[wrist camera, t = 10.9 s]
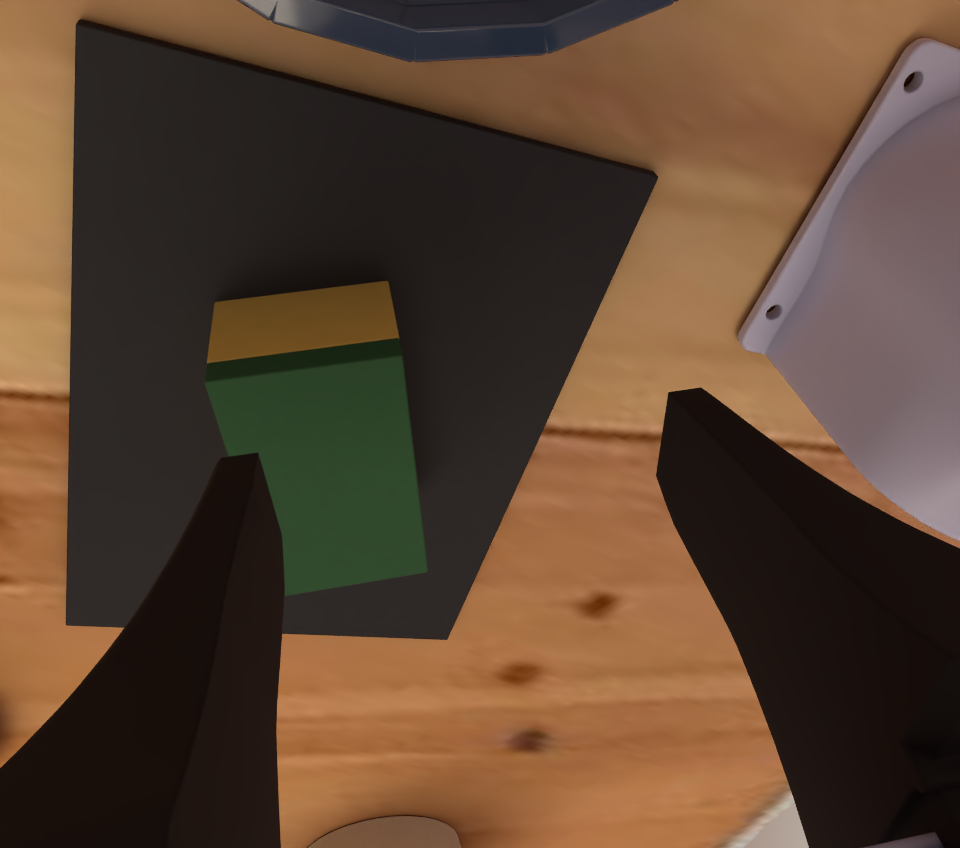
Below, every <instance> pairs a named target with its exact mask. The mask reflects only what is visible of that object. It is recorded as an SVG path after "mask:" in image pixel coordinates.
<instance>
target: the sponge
mask: <svg viewBox="0 0 960 848" xmlns="http://www.w3.org/2000/svg"><path fill="white" fill-rule="evenodd" d="M204 383H205V386H206V389H207V392H208V396H209V399H210V402H211V405H212V408H213V411H214V414H215V417H216V420H217V423H218V427H219V430H220V433H221V436H222V439H223V442H224V445H225V448H226V451H227V454H228V457H230V456H237V455H243V454H250V453H257V452H258V453H259V457H260V460H261V464H262V467H263V471H264V474H265V478H266V481H267V485H268V488H269V491H270V495H271V498H272V502H273V505H274V509H275V512H276V516H277V519H278V523H279V526H280V529H281V533H282V542H283V559H284V579H285V596H289V595H295V594H301V593H306V592H312V591H318V590H324V589H330V588H336V587H342V586H348V585H354V584H360V583H366V582H372V581H378V580H384V579H390V578H396V577H402V576H408V575H414V574H420V573H426V572H428V564H427V556H426V547H425V539H424V530H423V522H422V514H421V505H420V497H419V488H418V480H417V472H416V463H415V455H414V446H413V438H412V430H411V421H410V413H409V404H408V396H407V388H406V379H405V371H404V362H403V355H402V350H401V344H400V340H399V334H398V329H397V324H396V319H395V313H394V308H393V303H392V298H391V293H390V288H389V282H388V281H381V282H372V283H364V284H356V285H348V286H340V287H332V288H324V289H316V290H308V291H300V292H292V293H284V294H276V295H268V296H259V297H251V298H243V299H235V300H227V301H219V302H215V304H214V311H213V319H212V327H211V335H210V343H209V350H208V358H207V366H206V374H205V382H204Z"/></svg>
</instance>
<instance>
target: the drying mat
mask: <svg viewBox="0 0 960 848" xmlns="http://www.w3.org/2000/svg"><path fill="white" fill-rule="evenodd" d="M657 179H658V176H657V175H656V174H655V173H654V172H653V171H650V170H646V169H643V168H639V167H635V166H631V165H628V164H624V163H620V162H616V161H612V160H609V159H605V158H601V157H597V156H594V155H590V154H586V153H582V152H578V151H575V150H571V149H567V148H563V147H560V146H556V145H552V144H548V143H545V142H541V141H537V140H533V139H529V138H526V137H522V136H518V135H514V134H511V133H507V132H503V131H499V130H496V129H492V128H488V127H484V126H480V125H477V124H473V123H469V122H465V121H462V120H458V119H454V118H450V117H447V116H443V115H439V114H435V113H431V112H428V111H424V110H420V109H416V108H413V107H409V106H405V105H401V104H397V103H394V102H390V101H386V100H382V99H379V98H375V97H371V96H367V95H364V94H360V93H356V92H352V91H348V90H345V89H341V88H337V87H333V86H330V85H326V84H322V83H318V82H315V81H311V80H307V79H303V78H299V77H296V76H292V75H288V74H284V73H281V72H277V71H273V70H269V69H266V68H262V67H258V66H254V65H250V64H247V63H243V62H239V61H235V60H232V59H228V58H224V57H220V56H216V55H213V54H209V53H205V52H201V51H198V50H194V49H190V48H186V47H183V46H179V45H175V44H171V43H167V42H164V41H160V40H156V39H152V38H149V37H145V36H141V35H137V34H134V33H130V32H126V31H122V30H118V29H115V28H111V27H107V26H103V25H100V24H96V23H92V22H88V21H85V20H79V21H78V22H77V24H76V47H75V107H74V167H73V228H72V288H71V348H70V409H69V469H68V529H67V589H66V625H70V626H96V627H123V628H125V626H126V625H127V624H128V622H129V621H130V619H131V618H132V616H133V615H134V613H135V612H136V611H137V609H138V608H139V606H140V605H141V603H142V602H143V600H144V599H145V597H146V595H147V594H148V592H149V591H150V589H151V587H152V586H153V584H154V582H155V581H156V579H157V578H158V576H159V574H160V573H161V571H162V570H163V568H164V566H165V565H166V563H167V561H168V560H169V558H170V556H171V554H172V553H173V551H174V549H175V547H176V545H177V543H178V542H179V540H180V538H181V536H182V534H183V532H184V530H185V529H186V527H187V525H188V523H189V521H190V519H191V517H192V515H193V513H194V511H195V509H196V507H197V505H198V503H199V501H200V499H201V497H202V495H203V493H204V490H205V488H206V486H207V484H208V481H209V479H210V477H211V475H212V472H213V470H214V468H215V465H216V463H217V462H218V461H219V460H220V459H221V458H223V457H228V454H227V451H226V448H225V445H224V442H223V439H222V436H221V433H220V430H219V427H218V423H217V420H216V417H215V414H214V411H213V408H212V405H211V402H210V399H209V396H208V392H207V389H206V386H205V383H204V382H205V374H206V366H207V358H208V350H209V343H210V335H211V327H212V319H213V311H214V304H215V302H219V301H227V300H235V299H243V298H251V297H259V296H268V295H276V294H284V293H292V292H300V291H308V290H316V289H324V288H332V287H340V286H348V285H356V284H364V283H372V282H381V281H388V282H389V288H390V293H391V298H392V303H393V308H394V313H395V319H396V324H397V329H398V334H399V340H400V344H401V350H402V355H403V362H404V371H405V379H406V388H407V396H408V404H409V413H410V421H411V430H412V438H413V446H414V455H415V463H416V472H417V480H418V488H419V497H420V505H421V514H422V522H423V530H424V539H425V547H426V556H427V564H428V572H426V573H420V574H414V575H408V576H402V577H396V578H390V579H384V580H378V581H372V582H366V583H360V584H354V585H348V586H342V587H336V588H330V589H324V590H318V591H312V592H306V593H301V594H295V595H289V596H284V611H283V627H282V634H307V635H334V636H360V637H386V638H413V639H439V640H447V639H448V637H449V634H450V632H451V630H452V628H453V626H454V623H455V621H456V619H457V617H458V615H459V613H460V610H461V608H462V606H463V604H464V602H465V599H466V597H467V595H468V593H469V591H470V588H471V586H472V584H473V582H474V580H475V577H476V575H477V573H478V571H479V569H480V567H481V564H482V562H483V560H484V558H485V556H486V553H487V551H488V549H489V547H490V545H491V542H492V540H493V538H494V536H495V534H496V532H497V529H498V527H499V525H500V523H501V521H502V518H503V516H504V514H505V512H506V510H507V507H508V505H509V503H510V501H511V499H512V496H513V494H514V492H515V490H516V488H517V486H518V483H519V481H520V479H521V477H522V475H523V472H524V470H525V468H526V466H527V464H528V461H529V459H530V457H531V455H532V453H533V451H534V448H535V446H536V444H537V442H538V440H539V437H540V435H541V433H542V431H543V429H544V426H545V424H546V422H547V420H548V418H549V416H550V413H551V411H552V409H553V407H554V405H555V402H556V400H557V398H558V396H559V394H560V391H561V389H562V387H563V385H564V383H565V380H566V378H567V376H568V374H569V372H570V370H571V367H572V365H573V363H574V361H575V359H576V356H577V354H578V352H579V350H580V348H581V345H582V343H583V341H584V339H585V337H586V335H587V332H588V330H589V328H590V326H591V324H592V321H593V319H594V317H595V315H596V313H597V310H598V308H599V306H600V304H601V302H602V299H603V297H604V295H605V293H606V291H607V289H608V286H609V284H610V282H611V280H612V278H613V275H614V273H615V271H616V269H617V267H618V264H619V262H620V260H621V258H622V256H623V254H624V251H625V249H626V247H627V245H628V243H629V240H630V238H631V236H632V234H633V232H634V229H635V227H636V225H637V223H638V221H639V218H640V216H641V214H642V212H643V210H644V208H645V205H646V203H647V201H648V199H649V197H650V194H651V192H652V190H653V188H654V186H655V183H656V181H657Z"/></svg>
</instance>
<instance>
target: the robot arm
mask: <svg viewBox="0 0 960 848" xmlns="http://www.w3.org/2000/svg"><path fill="white" fill-rule="evenodd" d="M913 72H914V77H913V80H912V81H911V82H910V83H909V85H907V86H905V87H904V82H905V80H906V78H907V77H908V76H909V75H910V74H912V73H913ZM774 305H776V307H775V308H774V309H773V310H772V311H770V312H768V313H766V312H767V310H768V309H769V308H770V307H772V306H774ZM738 341H739V342H740V344H741V345H742V346H743V348H744V349H745V350H747V351H750V352H755V353H760V354H766V356H767V357H768V358H769V360H770V361H771V362H772V363H773V365H774V366H775V367H776V368H777V370H778V371H779V372H780V374H781V375H782V376H783V377H784V379H785V380H786V381H787V382H788V384H789V385H790V386H791V387H792V389H793V390H794V391H795V392H796V394H797V395H798V396H799V397H800V399H801V400H802V401H803V402H804V404H805V405H806V406H807V407H808V409H809V410H810V411H811V412H812V414H813V415H814V416H815V418H816V419H817V420H818V421H819V423H820V424H821V425H822V426H823V428H824V429H825V430H826V431H827V433H828V434H829V435H830V436H831V438H832V439H833V440H834V441H835V443H836V444H837V445H838V446H839V448H840V449H841V450H842V451H843V453H844V454H845V455H846V457H847V458H848V459H849V460H850V462H851V463H852V464H853V465H854V467H855V468H856V469H857V470H858V471H859V472H860V473H861V474H862V475H863V476H864V478H865V479H867V480H868V481H869V482H870V483H871V484H872V485H873V486H874V487H875V488H876V489H877V490H878V491H880V492H881V493H882V494H883V495H884V496H886V497H887V498H888V499H889V500H891V501H892V502H893V503H895V504H896V505H897V506H899V507H900V508H901V509H903V510H904V511H905V512H907V513H908V514H910V515H911V516H913V517H914V518H916V519H917V520H919V521H920V522H922V523H924V524H925V525H927V526H929V527H931V528H932V529H934V530H936V531H938V532H940V533H942V534H944V535H947V536H949V537H951V538H954V539H956V540H959V541H960V49H957V48H954V47H952V46H949V45H946V44H944V43H941V42H939V41H936V40H933V39H931V38H920V39H917V40H915V41H914V42H912V43H911V44H910V45H908V47H907V48H906V49H905V50H904V52H903V53H902V55H901V56H900V58H899V60H898V62H897V63H896V65H895V67H894V68H893V70H892V72H891V73H890V75H889V77H888V79H887V80H886V82H885V84H884V85H883V87H882V89H881V91H880V92H879V94H878V96H877V97H876V99H875V101H874V103H873V104H872V106H871V108H870V109H869V111H868V113H867V114H866V116H865V118H864V120H863V121H862V123H861V125H860V126H859V128H858V130H857V132H856V133H855V135H854V137H853V138H852V140H851V142H850V143H849V145H848V147H847V149H846V150H845V152H844V154H843V155H842V157H841V159H840V161H839V162H838V164H837V166H836V167H835V169H834V171H833V173H832V174H831V176H830V178H829V179H828V181H827V183H826V184H825V186H824V188H823V190H822V191H821V193H820V195H819V196H818V198H817V200H816V202H815V203H814V205H813V207H812V208H811V210H810V212H809V213H808V215H807V217H806V219H805V220H804V222H803V224H802V225H801V227H800V229H799V231H798V232H797V234H796V236H795V237H794V239H793V241H792V243H791V244H790V246H789V248H788V249H787V251H786V253H785V254H784V256H783V258H782V260H781V261H780V263H779V265H778V266H777V268H776V270H775V272H774V273H773V275H772V277H771V278H770V280H769V282H768V283H767V285H766V287H765V289H764V290H763V292H762V294H761V295H760V297H759V299H758V301H757V302H756V304H755V306H754V307H753V309H752V311H751V312H750V314H749V316H748V318H747V319H746V321H745V323H744V324H743V326H742V328H741V330H740V332H739V334H738ZM656 477H657V479H658V482H659V485H660V488H661V491H662V494H663V497H664V500H665V502H666V505H667V508H668V510H669V513H670V515H671V518H672V521H673V523H674V525H675V527H676V529H677V531H678V533H679V535H680V537H681V539H682V541H683V543H684V545H685V547H686V549H687V551H688V552H689V554H690V556H691V558H692V560H693V562H694V564H695V566H696V568H697V569H698V571H699V573H700V575H701V577H702V579H703V581H704V583H705V584H706V586H707V588H708V590H709V592H710V594H711V596H712V598H713V599H714V601H715V603H716V605H717V607H718V609H719V611H720V613H721V614H722V616H723V618H724V620H725V622H726V624H727V626H728V628H729V630H730V632H731V634H732V636H733V638H734V641H735V643H736V645H737V647H738V650H739V652H740V655H741V657H742V659H743V662H744V664H745V667H746V669H747V672H748V674H749V677H750V679H751V682H752V684H753V687H754V689H755V692H756V694H757V697H758V700H759V702H760V705H761V708H762V710H763V713H764V716H765V718H766V721H767V724H768V726H769V729H770V732H771V735H772V737H773V740H774V743H775V745H776V748H777V751H778V754H779V757H780V760H781V763H782V766H783V769H784V772H785V775H786V777H787V780H788V783H789V786H790V789H791V792H792V795H793V798H794V801H795V804H796V807H797V810H798V813H799V817H800V820H801V823H802V826H803V830H804V833H805V836H806V839H807V842H808V845H809V848H960V548H957V547H955V546H953V545H951V544H949V543H946V542H944V541H942V540H940V539H938V538H936V537H933V536H931V535H929V534H927V533H925V532H922V531H920V530H918V529H916V528H914V527H912V526H910V525H908V524H906V523H904V522H902V521H900V520H898V519H896V518H894V517H892V516H891V515H889V514H887V513H885V512H883V511H881V510H880V509H878V508H876V507H874V506H872V505H870V504H869V503H867V502H865V501H863V500H861V499H860V498H858V497H856V496H855V495H853V494H851V493H849V492H848V491H846V490H844V489H843V488H841V487H840V486H838V485H837V484H835V483H833V482H832V481H830V480H829V479H827V478H826V477H824V476H822V475H821V474H819V473H818V472H816V471H815V470H813V469H812V468H810V467H809V466H807V465H806V464H804V463H803V462H801V461H800V460H798V459H797V458H796V457H794V456H793V455H791V454H790V453H788V452H787V451H786V450H784V449H783V448H781V447H780V446H779V445H777V444H776V443H774V442H773V441H772V440H770V439H769V438H768V437H766V436H765V435H764V434H762V433H761V432H760V431H758V430H757V429H756V428H754V427H753V426H752V425H750V424H749V423H748V422H746V421H745V420H744V419H742V418H741V417H740V416H738V415H737V414H736V413H735V412H733V411H732V410H731V409H729V408H728V407H727V406H725V405H724V404H723V403H721V402H720V401H719V400H717V399H716V398H715V397H713V396H712V395H711V394H709V393H708V392H707V391H705V390H704V389H702V388H695V389H688V390H681V391H674V392H668V399H667V406H666V412H665V419H664V426H663V432H662V439H661V446H660V453H659V459H658V466H657V473H656ZM284 596H285V579H284V559H283V542H282V533H281V529H280V526H279V523H278V519H277V516H276V512H275V509H274V505H273V502H272V498H271V495H270V491H269V488H268V485H267V481H266V478H265V474H264V471H263V467H262V464H261V460H260V457H259V453H258V452H257V453H250V454H243V455H237V456H230V457H223V458H221V459H220V460H219V461H218V462H217V463H216V465H215V468H214V470H213V472H212V475H211V477H210V479H209V481H208V484H207V486H206V488H205V490H204V493H203V495H202V497H201V499H200V501H199V503H198V505H197V507H196V509H195V511H194V513H193V515H192V517H191V519H190V521H189V523H188V525H187V527H186V529H185V530H184V532H183V534H182V536H181V538H180V540H179V542H178V543H177V545H176V547H175V549H174V551H173V553H172V554H171V556H170V558H169V560H168V561H167V563H166V565H165V566H164V568H163V570H162V571H161V573H160V574H159V576H158V578H157V579H156V581H155V582H154V584H153V586H152V587H151V589H150V591H149V592H148V594H147V595H146V597H145V599H144V600H143V602H142V603H141V605H140V606H139V608H138V609H137V611H136V612H135V613H134V615H133V616H132V618H131V619H130V621H129V622H128V624H127V625H126V626H125V628H124V629H123V630H122V632H121V633H120V635H119V636H118V637H117V639H116V640H115V641H114V643H113V644H112V645H111V647H110V648H109V649H108V651H107V652H106V653H105V654H104V656H103V657H102V658H101V659H100V661H99V662H98V663H97V664H96V665H95V667H94V668H93V669H92V670H91V672H90V673H89V674H88V675H87V676H86V678H85V679H84V680H83V681H82V683H81V684H80V685H79V686H78V687H77V688H76V690H75V691H74V692H73V693H72V694H71V695H70V697H69V698H68V699H67V700H66V701H65V702H64V703H63V704H62V706H61V707H60V708H59V709H58V710H57V711H56V712H55V713H54V714H53V715H52V716H51V717H50V718H49V719H48V720H47V721H46V722H45V723H44V724H43V725H42V727H41V728H40V729H39V730H38V731H37V732H36V733H35V734H34V735H33V736H32V737H31V738H30V739H29V740H28V741H27V742H26V743H25V744H24V745H23V746H22V747H21V748H20V749H19V750H18V751H17V752H16V753H15V754H14V755H13V756H12V757H11V758H10V759H9V760H8V761H7V762H6V763H5V764H4V765H3V766H2V767H1V768H0V848H281V843H280V820H279V798H278V771H277V740H276V722H277V698H278V683H279V669H280V655H281V641H282V627H283V611H284Z"/></svg>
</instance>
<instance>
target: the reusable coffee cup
mask: <svg viewBox="0 0 960 848" xmlns="http://www.w3.org/2000/svg"><path fill="white" fill-rule="evenodd" d="M308 848H461V845H460V841H459V838H458V835H457V833H456V832H455V830H454V829H453V828H452V827H450V826H449V825H447V824H446V823H443V822H441V821H438V820H435V819H430V818H426V817H416V816H393V817H384V818H376V819H372V820H367V821H362V822H358V823H355V824H352V825H348V826H345V827H343V828H340V829H338V830H335V831H333V832H331V833H329V834H327V835H325V836H323V837H322V838H320V839H318V840H317V841H315V842H314V843H313V844H312V845H310V846H309V847H308Z"/></svg>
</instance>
